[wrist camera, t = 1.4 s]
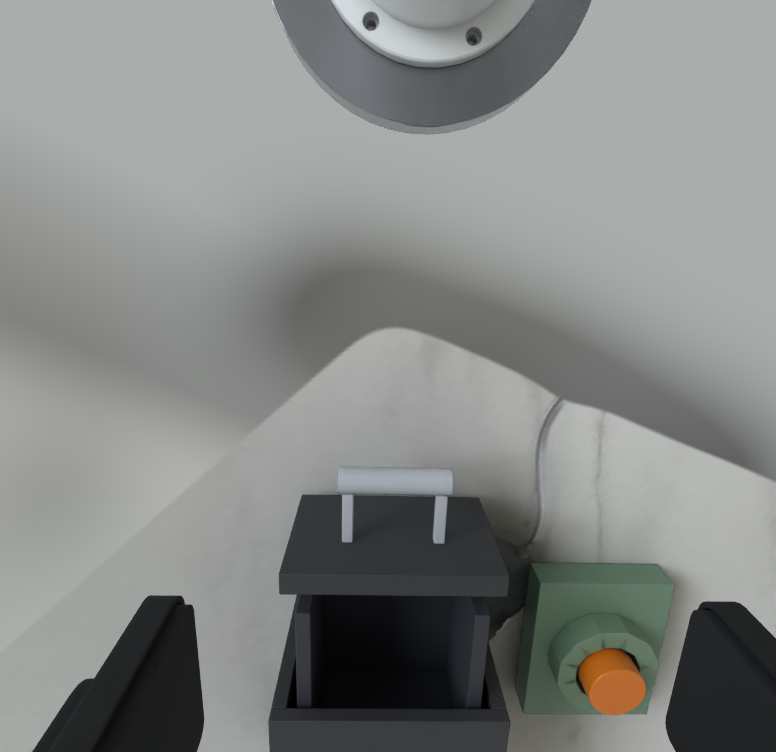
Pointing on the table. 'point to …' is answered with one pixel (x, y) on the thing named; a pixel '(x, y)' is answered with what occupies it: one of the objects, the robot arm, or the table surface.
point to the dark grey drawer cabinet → (384, 720)
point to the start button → (612, 681)
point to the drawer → (392, 592)
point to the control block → (588, 629)
